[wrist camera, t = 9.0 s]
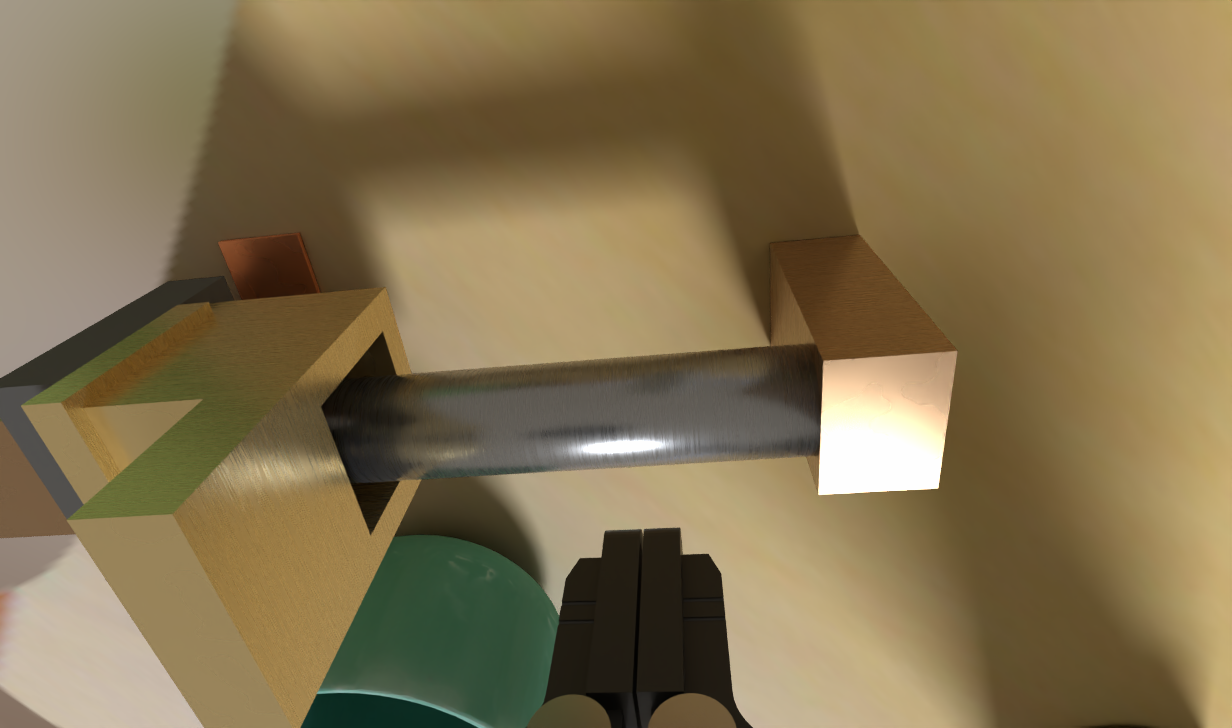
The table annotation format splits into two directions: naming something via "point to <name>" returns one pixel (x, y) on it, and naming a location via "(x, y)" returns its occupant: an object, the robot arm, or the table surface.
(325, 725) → the mug
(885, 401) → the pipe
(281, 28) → the table surface
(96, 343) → the dark grey square plate
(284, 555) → the tan notched block
